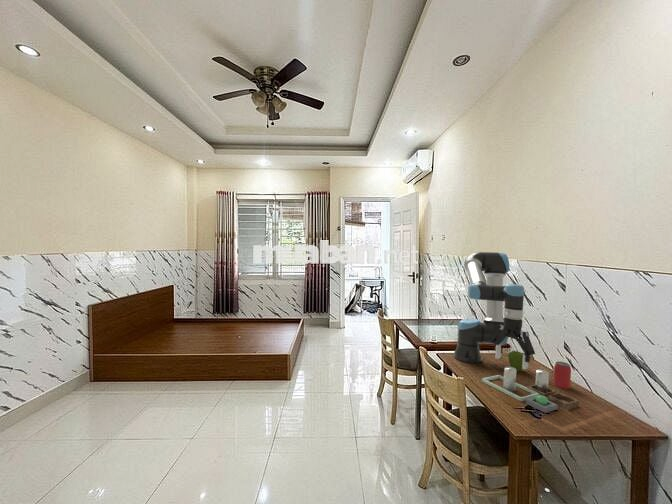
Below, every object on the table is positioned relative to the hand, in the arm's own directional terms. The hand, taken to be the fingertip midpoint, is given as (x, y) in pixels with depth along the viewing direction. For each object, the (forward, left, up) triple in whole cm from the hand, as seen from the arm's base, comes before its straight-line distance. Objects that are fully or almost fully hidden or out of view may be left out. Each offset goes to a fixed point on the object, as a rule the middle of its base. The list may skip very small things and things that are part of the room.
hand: (510, 363), depth 144 cm
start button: (+16, -2, -11) cm, 19 cm away
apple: (-14, +25, -13) cm, 32 cm away
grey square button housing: (+16, -2, -13) cm, 21 cm away
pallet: (+13, +10, -13) cm, 21 cm away
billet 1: (0, 0, -13) cm, 13 cm away
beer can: (+7, +28, -13) cm, 32 cm away
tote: (0, 0, -13) cm, 13 cm away
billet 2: (+8, +10, -12) cm, 18 cm away
